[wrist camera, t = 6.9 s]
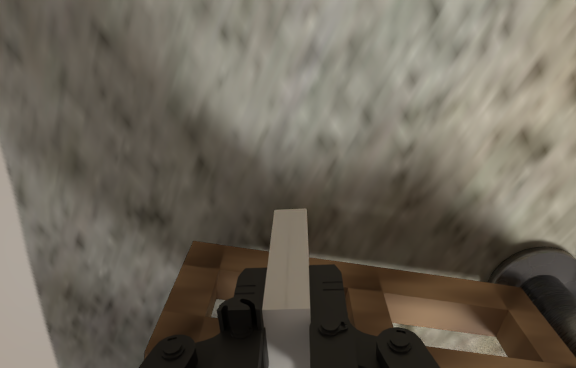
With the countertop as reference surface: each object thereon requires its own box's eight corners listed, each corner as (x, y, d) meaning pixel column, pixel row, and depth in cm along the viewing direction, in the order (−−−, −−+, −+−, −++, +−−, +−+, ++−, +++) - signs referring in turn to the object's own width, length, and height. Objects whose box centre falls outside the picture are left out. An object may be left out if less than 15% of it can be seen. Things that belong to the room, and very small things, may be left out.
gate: (520, 287, 21) (619, 414, 14) (509, 312, 21) (599, 444, 15) (193, 240, 20) (144, 351, 14) (191, 268, 21) (144, 386, 14)
